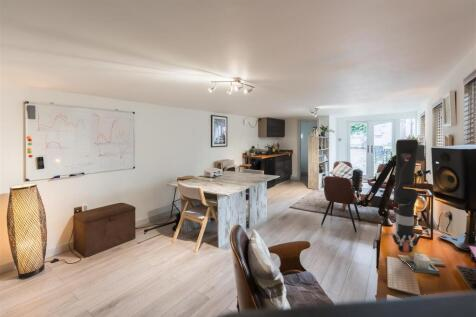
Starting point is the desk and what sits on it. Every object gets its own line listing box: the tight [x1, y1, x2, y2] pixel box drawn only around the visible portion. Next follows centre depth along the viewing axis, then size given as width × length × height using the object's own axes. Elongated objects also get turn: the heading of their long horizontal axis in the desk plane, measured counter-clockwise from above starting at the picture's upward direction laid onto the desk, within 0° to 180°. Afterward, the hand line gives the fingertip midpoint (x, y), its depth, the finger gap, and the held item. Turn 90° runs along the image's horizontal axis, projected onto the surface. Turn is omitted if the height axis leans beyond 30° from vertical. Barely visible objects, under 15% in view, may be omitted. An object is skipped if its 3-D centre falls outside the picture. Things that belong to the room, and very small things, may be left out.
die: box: [413, 252, 430, 269], centre depth 123 cm, size 5×5×5 cm
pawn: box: [401, 240, 410, 255], centre depth 132 cm, size 4×4×7 cm
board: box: [397, 254, 446, 267], centre depth 130 cm, size 7×20×1 cm, turn 75°
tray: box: [406, 260, 440, 275], centre depth 123 cm, size 9×11×2 cm
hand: (405, 251), depth 132 cm, fingers closed on pawn, 4 cm apart
